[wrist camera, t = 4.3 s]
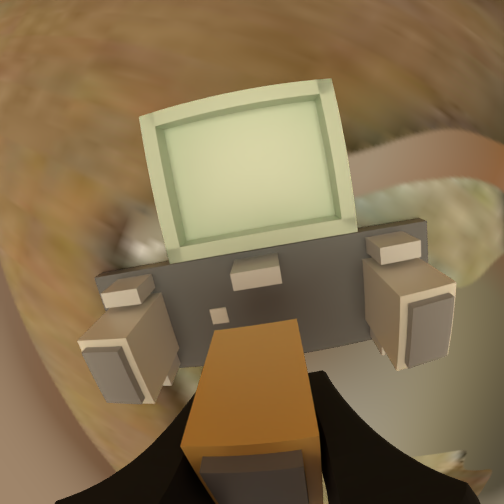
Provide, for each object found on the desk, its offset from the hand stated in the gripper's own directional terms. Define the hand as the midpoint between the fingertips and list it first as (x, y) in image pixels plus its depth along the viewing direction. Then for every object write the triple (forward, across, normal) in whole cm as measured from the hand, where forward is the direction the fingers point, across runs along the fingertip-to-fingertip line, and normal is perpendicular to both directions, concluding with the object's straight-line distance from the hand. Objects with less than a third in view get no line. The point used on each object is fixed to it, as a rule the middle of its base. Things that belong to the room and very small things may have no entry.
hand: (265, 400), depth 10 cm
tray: (+9, 0, -8) cm, 12 cm away
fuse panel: (+9, 0, 0) cm, 9 cm away
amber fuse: (+2, 0, 0) cm, 2 cm away
